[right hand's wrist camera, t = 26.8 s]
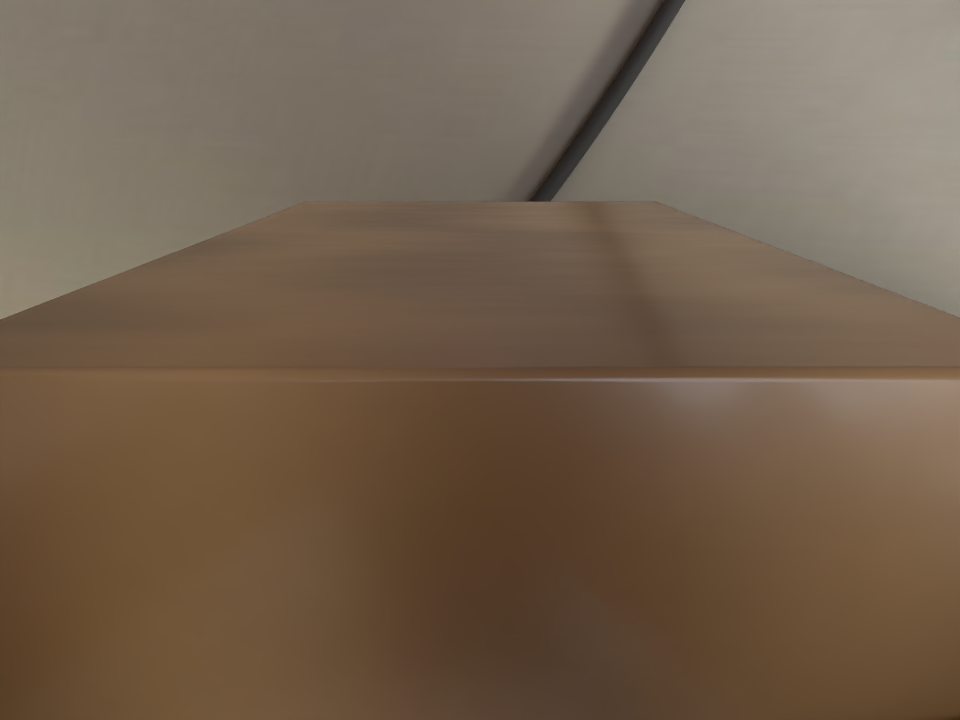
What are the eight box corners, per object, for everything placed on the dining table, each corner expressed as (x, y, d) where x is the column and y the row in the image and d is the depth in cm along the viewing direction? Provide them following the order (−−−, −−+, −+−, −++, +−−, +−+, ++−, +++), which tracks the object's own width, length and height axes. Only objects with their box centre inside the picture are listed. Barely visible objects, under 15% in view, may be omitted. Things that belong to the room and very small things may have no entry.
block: (332, 508, 18) (118, 1055, 7) (302, 201, 15) (-145, 371, 4) (627, 508, 18) (844, 1055, 7) (658, 200, 15) (1110, 369, 4)
